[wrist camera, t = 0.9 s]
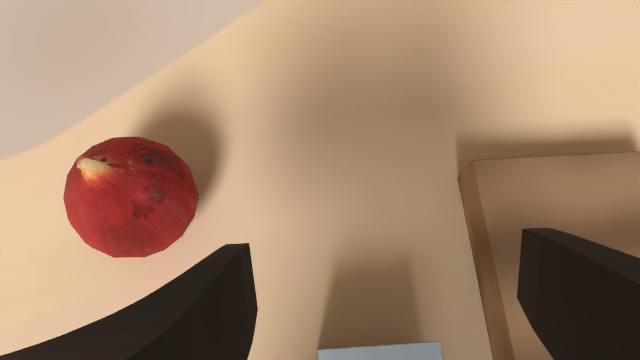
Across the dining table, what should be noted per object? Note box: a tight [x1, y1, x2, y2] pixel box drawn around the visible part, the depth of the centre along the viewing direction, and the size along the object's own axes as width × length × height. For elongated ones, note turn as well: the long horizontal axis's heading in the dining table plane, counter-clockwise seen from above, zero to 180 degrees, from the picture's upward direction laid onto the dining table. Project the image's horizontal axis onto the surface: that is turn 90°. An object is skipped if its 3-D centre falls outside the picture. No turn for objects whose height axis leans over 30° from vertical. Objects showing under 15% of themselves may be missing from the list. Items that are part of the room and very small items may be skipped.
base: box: [458, 152, 640, 360], centre depth 22 cm, size 11×11×2 cm
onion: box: [64, 137, 198, 258], centre depth 20 cm, size 6×6×8 cm
